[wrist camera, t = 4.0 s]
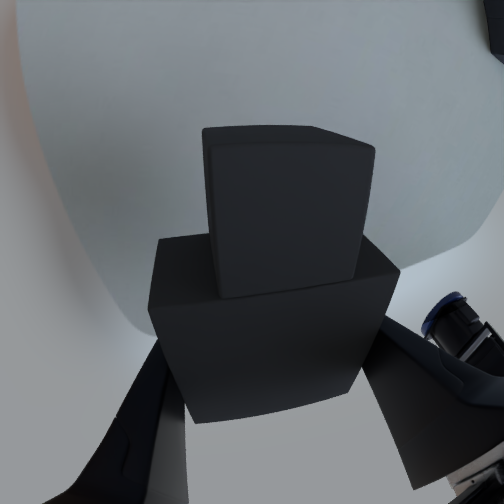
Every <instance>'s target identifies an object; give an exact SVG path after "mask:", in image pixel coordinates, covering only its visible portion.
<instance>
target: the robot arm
mask: <svg viewBox="0 0 504 504" xmlns="http://www.w3.org/2000/svg"><path fill="white" fill-rule="evenodd" d="M466 301H467V298H466V297H463V298H461V299H458V300H456V301H453V302H451V303H448V304H446V305H443V306H442V307H441V308H440V309H439V311H438V313H437V315H436V317H435V319H434V321H433V322H432V324H431V326H430V328H429V330H428V332H427V333H426V335H425V337H424V338H422V337H421V336H419V335H418V334H416V333H414V332H412V331H411V330H409V329H407V328H406V327H404V326H403V325H401V324H399V323H398V322H396V321H394V320H393V319H391V318H389V317H388V316H386V315H385V316H384V318H383V321H382V323H381V326H380V328H379V330H378V333H377V335H376V337H375V339H374V342H373V344H372V346H371V348H370V350H369V352H368V355H367V357H366V359H365V361H364V363H363V365H362V369H363V371H364V373H365V375H366V377H367V379H368V381H369V384H370V386H371V388H372V390H373V392H374V395H375V397H376V399H377V402H378V404H379V406H380V408H381V411H382V413H383V415H384V418H385V420H386V422H387V424H388V427H389V429H390V432H391V434H392V437H393V439H394V441H395V444H396V446H397V449H398V452H399V454H400V457H401V459H402V462H403V464H404V467H405V470H406V472H407V475H408V478H409V480H410V483H411V486H412V488H413V490H416V489H418V488H421V487H423V486H425V485H428V484H430V483H432V482H434V481H437V480H439V479H441V478H443V477H445V476H446V477H447V479H448V481H449V484H450V486H451V488H452V489H454V491H455V493H456V496H457V497H456V498H455V499H454V500H452V501H451V502H450V503H448V504H504V341H503V339H502V338H501V337H500V335H499V334H498V333H497V332H496V331H495V330H494V328H492V326H491V325H490V324H489V323H488V322H487V321H486V322H485V323H484V325H483V324H482V323H481V322H480V321H479V316H478V315H477V313H476V312H475V311H474V310H473V309H472V308H471V307H470V306H469V305H468V304H467V303H466ZM490 333H492V335H491V336H490V337H487V336H488V335H489V334H490ZM432 338H433V340H434V341H435V342H436V344H437V345H438V346H439V348H438V347H437V346H436V345H434V344H432V343H431V342H429V341H428V340H430V339H432ZM116 417H117V418H116ZM116 417H115V418H114V420H113V422H112V424H111V426H110V428H109V429H108V431H107V433H106V435H105V437H104V439H103V440H102V442H101V443H100V445H99V447H98V448H97V450H96V451H95V453H94V454H93V456H92V457H91V459H90V461H89V462H88V463H87V465H86V466H85V468H84V469H83V471H82V472H81V474H80V475H79V477H78V478H77V480H76V481H75V482H74V483H73V485H72V486H71V487H70V488H69V489H67V490H66V491H65V492H63V493H61V494H60V495H58V496H56V497H54V498H52V499H51V500H48V501H46V502H45V503H43V504H188V503H189V499H188V486H187V472H186V449H185V402H184V400H183V397H182V395H181V393H180V391H179V389H178V386H177V384H176V382H175V380H174V377H173V375H172V372H171V370H170V368H169V366H168V363H167V361H166V358H165V356H164V353H163V351H162V348H161V346H160V343H159V340H158V339H157V341H156V343H155V344H154V346H153V348H152V350H151V351H150V353H149V355H148V357H147V359H146V361H145V362H144V364H143V366H142V368H141V369H140V371H139V373H138V375H137V377H136V379H135V380H134V382H133V384H132V386H131V388H130V390H129V392H128V393H127V395H126V397H125V399H124V401H123V403H122V405H121V407H120V408H119V411H118V412H117V414H116Z"/></svg>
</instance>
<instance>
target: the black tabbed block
mask: <svg viewBox="0 0 504 504" xmlns="http://www.w3.org/2000/svg"><path fill="white" fill-rule="evenodd" d="M202 143H203V160H204V176H205V190H206V203H207V215H208V226H209V233H207V234H197V235H189V236H180V237H171V238H163V239H159V241H158V246H157V252H156V257H155V263H154V269H153V275H152V281H151V288H150V295H149V302H148V312H149V315H150V318H151V321H152V324H153V327H154V329H155V332H156V335H157V338H158V340H159V343H160V346H161V348H162V351H163V353H164V356H165V358H166V361H167V363H168V366H169V368H170V370H171V372H172V375H173V377H174V380H175V382H176V384H177V386H178V389H179V391H180V393H181V395H182V397H183V400H184V402H185V404H186V406H187V409H188V411H189V413H190V415H191V417H192V419H193V421H194V423H195V424H198V423H210V422H218V421H227V420H234V419H241V418H247V417H253V416H259V415H264V414H269V413H274V412H279V411H283V410H288V409H292V408H296V407H300V406H304V405H308V404H312V403H315V402H319V401H323V400H326V399H330V398H333V397H336V396H339V395H342V394H346V393H348V392H349V390H350V388H351V386H352V384H353V382H354V381H355V379H356V377H357V375H358V373H359V371H360V369H361V367H362V365H363V363H364V361H365V359H366V357H367V355H368V352H369V350H370V348H371V346H372V344H373V342H374V339H375V337H376V335H377V333H378V330H379V328H380V326H381V323H382V321H383V318H384V316H385V313H386V311H387V308H388V306H389V303H390V301H391V298H392V295H393V293H394V290H395V287H396V284H397V281H398V278H399V276H400V270H399V269H398V268H397V267H396V266H395V265H394V264H393V263H392V262H391V261H390V260H389V259H388V258H387V257H386V256H385V255H384V254H383V253H382V252H381V251H380V250H379V249H378V248H377V247H376V246H375V245H374V244H373V243H372V242H371V241H370V240H369V239H368V238H366V237H365V236H364V235H363V230H364V224H365V219H366V213H367V208H368V202H369V196H370V189H371V182H372V175H373V167H374V159H375V148H374V147H373V146H372V145H369V144H367V143H364V142H361V141H358V140H355V139H352V138H349V137H346V136H343V135H340V134H337V133H334V132H330V131H327V130H324V129H320V128H317V127H313V126H297V125H249V126H225V127H210V128H204V129H203V130H202Z"/></svg>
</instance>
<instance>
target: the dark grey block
mask: <svg viewBox="0 0 504 504" xmlns="http://www.w3.org/2000/svg"><path fill="white" fill-rule="evenodd" d="M484 5H485V10H486V15H487V21H488V28H489V36H490V45H491V53H492V54H493V55H494V56H495V57H496V58H497V59H499V60H500V61H501V62H502V63H503V64H504V0H484Z"/></svg>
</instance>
